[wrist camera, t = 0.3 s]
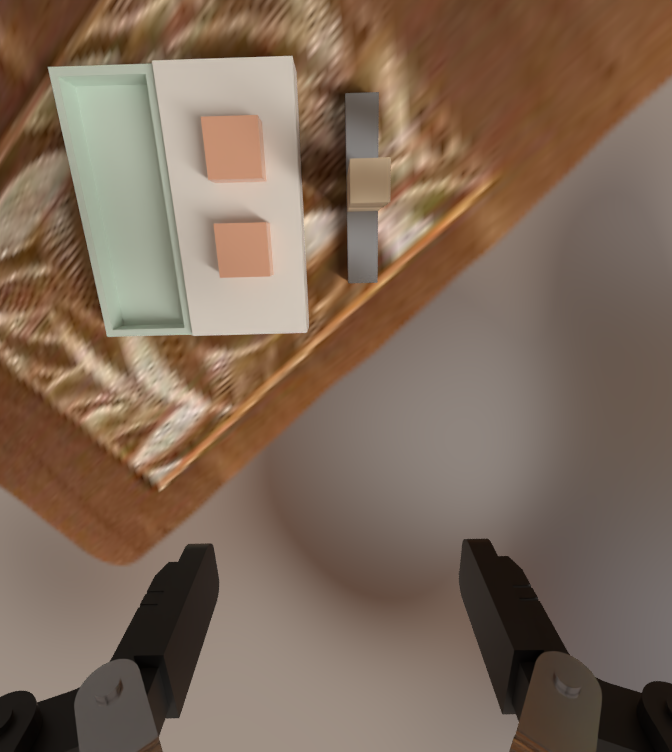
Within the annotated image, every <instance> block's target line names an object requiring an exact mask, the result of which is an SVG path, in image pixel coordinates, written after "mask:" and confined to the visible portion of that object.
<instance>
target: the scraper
mask: <svg viewBox="0 0 672 752" xmlns="http://www.w3.org/2000/svg"><path fill="white" fill-rule="evenodd" d="M378 107H379V92H372V93H345V136H346V195H347V254H348V283H376V282H377V256H378V210H380V209H381V208H383V207H384V206H385V205H387V204H388V203H390V185H391V157H387V158H378Z"/></svg>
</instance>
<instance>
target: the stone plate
mask: <svg viewBox="0 0 672 752" xmlns="http://www.w3.org/2000/svg"><path fill="white" fill-rule="evenodd" d="M152 64H153V71H154V78H155V85H156V91H157V98H158V105H159V112H160V118H161V125H162V132H163V139H164V145H165V152H166V159H167V166H168V172H169V179H170V186H171V193H172V199H173V206H174V213H175V220H176V226H177V233H178V240H179V247H180V253H181V260H182V267H183V274H184V280H185V287H186V294H187V301H188V307H189V314H190V321H191V328H192V334H193V336H200V335H238V334H275V333H307V330H308V327H309V315H308V295H307V275H306V255H305V235H304V215H303V195H302V175H301V155H300V135H299V115H298V95H297V75H296V69H295V65H294V61H293V56H274V57H243V58H213V59H183V60H152ZM238 115H258V116H259V118H260V120H261V121H262V127H263V140H264V153H265V166H266V179H267V182H239V183H214V182H212V181H209V180H208V175H207V166H206V158H205V149H204V141H203V133H202V124H201V117H206V116H238ZM255 222H267V223H270V232H271V245H272V258H273V271H274V275H272V276H269V277H233V278H220V275H219V267H218V258H217V250H216V241H215V233H214V225H213V224H220V223H255Z"/></svg>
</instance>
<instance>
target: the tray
mask: <svg viewBox="0 0 672 752" xmlns="http://www.w3.org/2000/svg"><path fill="white" fill-rule="evenodd" d="M48 70H49V75H50V79H51V84H52V88H53V93H54V97H55V102H56V106H57V111H58V116H59V120H60V125H61V129H62V134H63V138H64V143H65V147H66V152H67V156H68V161H69V166H70V170H71V175H72V179H73V184H74V188H75V193H76V197H77V202H78V206H79V211H80V215H81V220H82V225H83V229H84V234H85V238H86V243H87V247H88V252H89V256H90V261H91V265H92V270H93V274H94V279H95V284H96V288H97V293H98V297H99V302H100V306H101V311H102V315H103V320H104V324H105V329H106V333H107V337H117V336H154V335H192V328H191V321H190V314H189V307H188V301H187V294H186V287H185V280H184V274H183V267H182V260H181V253H180V247H179V240H178V233H177V226H176V220H175V213H174V206H173V199H172V193H171V186H170V179H169V172H168V166H167V159H166V152H165V145H164V139H163V132H162V125H161V118H160V112H159V105H158V98H157V91H156V85H155V78H154V71H153V64H124V65H93V66H63V67H48Z"/></svg>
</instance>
